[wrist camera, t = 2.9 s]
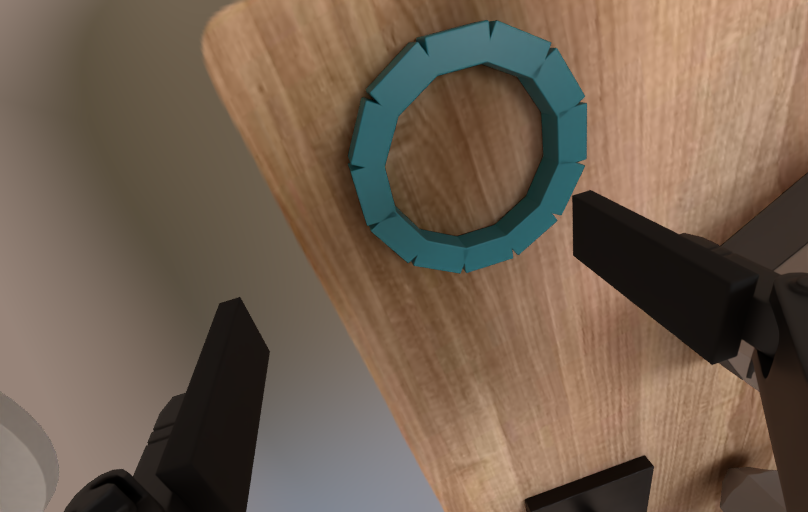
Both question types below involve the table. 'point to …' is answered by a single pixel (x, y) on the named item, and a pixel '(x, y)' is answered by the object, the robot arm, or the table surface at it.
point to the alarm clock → (773, 251)
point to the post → (601, 491)
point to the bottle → (752, 491)
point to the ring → (403, 85)
